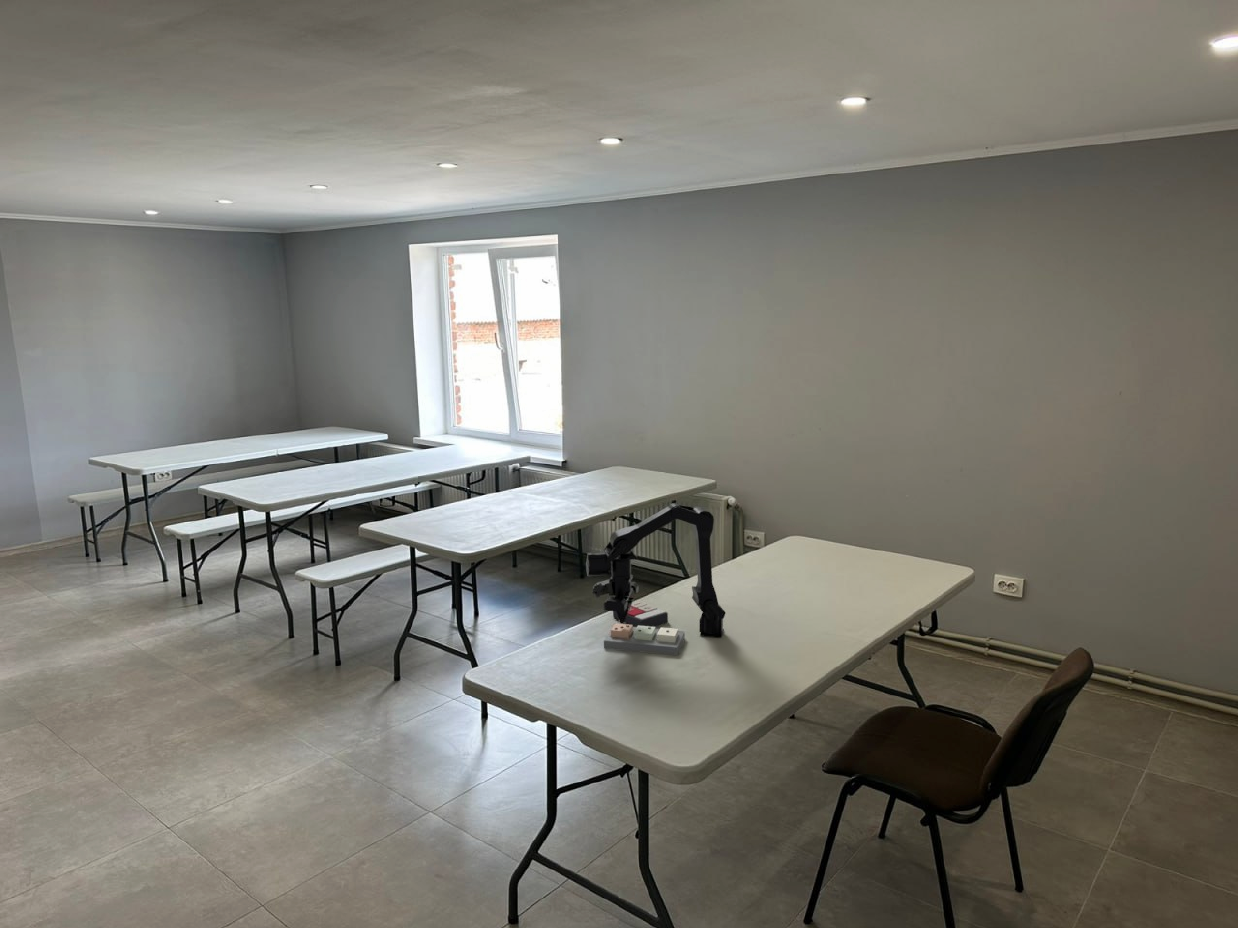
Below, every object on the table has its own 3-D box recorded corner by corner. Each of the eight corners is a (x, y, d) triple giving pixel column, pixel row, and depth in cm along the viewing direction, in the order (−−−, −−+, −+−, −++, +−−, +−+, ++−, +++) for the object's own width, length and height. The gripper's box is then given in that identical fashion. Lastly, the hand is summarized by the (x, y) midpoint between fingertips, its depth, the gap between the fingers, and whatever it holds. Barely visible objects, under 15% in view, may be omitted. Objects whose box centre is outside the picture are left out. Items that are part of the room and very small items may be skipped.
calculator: (638, 599, 267) (668, 610, 255) (639, 611, 268) (668, 623, 256) (612, 607, 260) (641, 618, 249) (612, 619, 261) (641, 631, 249)
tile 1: (678, 636, 240) (678, 628, 239) (674, 643, 235) (674, 635, 234) (660, 635, 241) (660, 626, 240) (656, 642, 236) (656, 633, 235)
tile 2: (655, 634, 241) (655, 626, 241) (651, 641, 236) (651, 633, 236) (638, 633, 243) (637, 624, 242) (633, 640, 238) (633, 631, 237)
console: (684, 638, 243) (684, 631, 242) (677, 655, 231) (677, 647, 231) (614, 632, 248) (614, 625, 248) (603, 647, 237) (603, 640, 237)
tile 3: (632, 632, 243) (632, 624, 243) (628, 639, 238) (628, 631, 238) (615, 631, 245) (615, 622, 244) (611, 637, 239) (610, 629, 239)
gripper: (603, 562, 248) (604, 609, 251) (586, 581, 231) (587, 632, 234) (638, 564, 246) (639, 612, 249) (623, 584, 228) (624, 636, 231)
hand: (622, 623), depth 241 cm, fingers closed
